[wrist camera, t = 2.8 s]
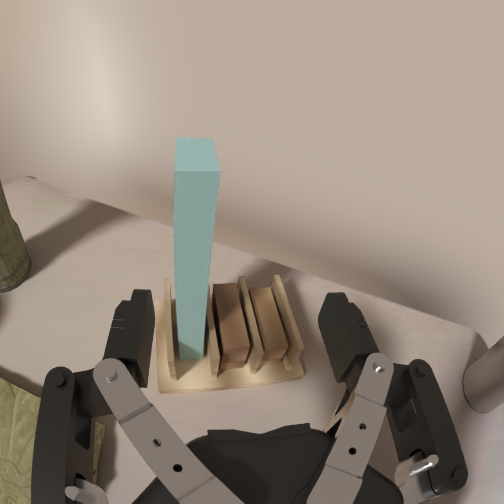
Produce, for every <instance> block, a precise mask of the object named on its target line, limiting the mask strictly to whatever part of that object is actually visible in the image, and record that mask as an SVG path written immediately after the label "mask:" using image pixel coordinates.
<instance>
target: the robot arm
mask: <svg viewBox="0 0 504 504" xmlns="http://www.w3.org/2000/svg"><path fill="white" fill-rule="evenodd" d="M318 325H319V329H320V332H321V335H322V338H323V341H324V344H325V347H326V350H327V353H328V356H329V359H330V363H331V366H332V369H333V372H334V375H335V378H336V382H337V383H339V382H345V383H346V387H345V389H344V391H343V393H342V396H341V398H340V400H339V402H338V405H337V407H336V409H335V411H334V413H333V415H332V417H331V419H330V421H329V422H328V424H327V425H326V427H325V428H324V430H323V431H320V430H316V429H311V428H310V424H309V423H305V424H297V425H288V426H284V427H281V428H278V429H275V430H272V431H269V432H266V433H263V434H256V433H250V432H244V431H239V430H234V429H232V430H208V435H206V436H202V437H199V438H196V439H194V440H192V441H190V442H189V443H187V444H186V445H185V444H184V442H183V441H182V440H181V439H180V438H179V437H178V435H177V434H176V433H175V432H174V430H173V429H172V428H171V427H170V426H169V424H168V423H167V422H166V420H165V419H164V418H163V417H162V415H161V414H160V413H159V411H158V410H157V409H156V408H155V406H154V405H153V404H151V403H150V402H149V401H148V399H147V398H146V397H145V395H144V394H143V392H142V391H141V389H140V387H142V388H147V384H148V375H149V366H150V357H151V349H152V341H153V334H154V327H155V312H154V306H153V300H152V294H151V290H143V289H134V290H133V293H132V297H131V301H126V300H122V302H121V303H120V304H119V305H118V307H117V308H116V310H115V313H114V317H113V321H112V324H111V328H110V332H109V336H108V340H107V344H106V348H105V353H104V357H103V359H102V361H100V362H99V363H98V364H97V365H96V366H95V368H93V369H90V370H87V371H81V372H75V373H72V372H71V370H69V369H68V368H66V367H55V368H53V369H52V370H50V371H49V372H48V374H47V375H46V378H45V382H44V386H43V391H42V396H41V401H40V407H39V412H38V418H37V425H36V432H35V440H34V449H33V459H32V474H31V504H109V502H108V498H107V495H106V493H105V492H104V491H103V490H102V489H101V488H100V487H98V486H97V485H94V484H93V466H94V438H95V423H96V417H97V416H103V415H108V414H114V415H115V417H116V418H117V420H118V422H119V424H120V426H121V427H122V429H123V430H124V432H125V434H126V435H127V436H128V438H129V439H130V441H131V442H132V444H133V445H134V447H135V448H136V449H137V451H138V452H139V454H140V455H141V456H142V458H143V459H144V460H145V462H146V463H147V464H148V466H149V467H150V468H151V469H152V471H153V472H154V473H155V475H156V476H157V477H156V478H155V479H154V480H153V481H152V482H151V483H150V484H149V486H148V487H147V488H146V489H145V490H144V491H143V492H142V493H141V494H140V495H139V496H138V498H137V499H136V500H135V501H134V502H133V503H132V504H419V503H422V502H425V501H428V500H432V499H435V498H437V497H440V496H443V495H446V494H449V493H451V492H454V491H456V490H459V489H461V488H462V487H463V486H464V485H465V483H466V481H467V477H468V471H467V467H466V463H465V460H464V456H463V453H462V450H461V446H460V443H459V440H458V437H457V434H456V431H455V428H454V425H453V422H452V419H451V417H450V414H449V411H448V408H447V406H446V403H445V400H444V398H443V395H442V393H441V390H440V388H439V385H438V383H437V380H436V378H435V376H434V373H433V371H432V369H431V367H430V365H429V364H428V363H427V362H425V361H424V360H421V359H415V360H413V361H412V362H411V363H410V364H409V365H402V364H396V363H392V361H391V359H390V358H389V357H388V356H386V355H384V354H382V353H380V352H379V350H378V348H377V345H376V343H375V341H374V339H373V336H372V334H371V332H370V330H369V328H368V325H367V323H366V321H364V317H363V315H362V313H361V310H360V309H359V308H358V307H357V306H356V305H355V304H354V303H349V301H348V299H347V297H346V295H345V293H343V292H338V293H328V294H327V295H326V298H325V300H324V303H323V305H322V308H321V310H320V313H319V316H318ZM463 387H464V392H465V395H466V398H467V400H468V402H469V403H470V405H471V406H472V407H473V408H474V409H475V410H476V411H478V412H480V413H487V412H490V411H491V410H493V409H494V408H496V407H498V406H499V405H501V404H502V403H504V336H503V337H502V338H501V339H500V340H499V341H498V342H497V343H496V344H495V345H494V346H492V347H491V348H490V349H489V350H488V351H487V352H486V353H484V354H483V355H482V356H481V357H480V358H478V359H477V360H476V361H475V362H474V363H472V364H471V365H470V366H469V367H468V368H467V369H466V371H465V373H464V377H463ZM411 399H412V401H411ZM412 402H413V404H412ZM413 405H414V407H413ZM414 408H415V410H414ZM415 411H416V413H415ZM385 414H387V418H388V421H389V425H390V428H391V432H392V435H393V439H394V443H395V447H396V451H397V455H398V459H399V463H400V464H399V465H398V466H397V469H396V473H395V475H394V479H395V483H393V482H392V481H390V480H389V479H388V478H386V477H385V476H383V475H382V474H381V473H379V472H378V471H377V470H375V469H374V468H373V467H371V466H370V465H369V464H367V463H368V461H369V459H370V456H371V454H372V451H373V448H374V446H375V443H376V440H377V438H378V435H379V432H380V429H381V426H382V423H383V420H384V417H385ZM416 414H417V416H416Z"/></svg>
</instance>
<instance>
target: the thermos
mask: <svg viewBox="0 0 504 504" xmlns="http://www.w3.org/2000/svg"><path fill="white" fill-rule="evenodd" d="M30 269H31V260H30V257H29V255H28V254H27V249H26V245H25V243H24V240H23V238H22V235H21V232H20V229H19V227H18V224H17V223H16V222H15V221H14V220H13V219H12V217H11V214H10V211H9V208H8V205H7V201H6V198H5V195H4V191H3V188H2V184H1V181H0V292H3V293H4V292H8V291H11V290H13V289H15V288H16V287H18V286H19V285H20V284H21V283H22V282H23V281H24V280H25V279H26V277H27V276H28V274H29V272H30Z"/></svg>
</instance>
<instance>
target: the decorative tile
mask: <svg viewBox="0 0 504 504" xmlns="http://www.w3.org/2000/svg"><path fill="white" fill-rule="evenodd" d="M40 401H41V398H39V397H37V396H35V395H33V394H31V393H29V392H27V391H25V390H23V389H21V388H19V387H17V386H15V385H13V384H11V383H10V382H8V381H6V380H4V379H3V378H1V377H0V504H31V474H32V459H33V449H34V440H35V432H36V425H37V418H38V412H39V407H40ZM104 436H105V426H104V425H103V424H101V423H98V422H96V423H95V438H94V466H93V484H94V485H95V484H96V481H97V475H98V463H99V457H100V454H101V450H100V448H101V446H102V443H103V441H104Z"/></svg>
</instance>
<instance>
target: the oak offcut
mask: <svg viewBox="0 0 504 504" xmlns="http://www.w3.org/2000/svg"><path fill="white" fill-rule="evenodd" d="M248 293H249V297H250V301H251V305H252V309H253V313H254V317H255V320H256V324H257V328H258V332H259V336H260V340H261V344H262V348H263V352H264V356H263V358H262V360H261V362H260V365H259V366H262V365H269V364H277V363H280V361H281V359H282V357H283V356H284V354H285V352H286V350H287V348H288V347H289V346H288V343H287V340H286V336H285V333H284V330H283V327H282V324H281V320H280V317H279V314H278V311H277V308H276V304H275V301H274V298H273V295H272V292H271V289H270V287H264V288H249V292H248Z"/></svg>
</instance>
